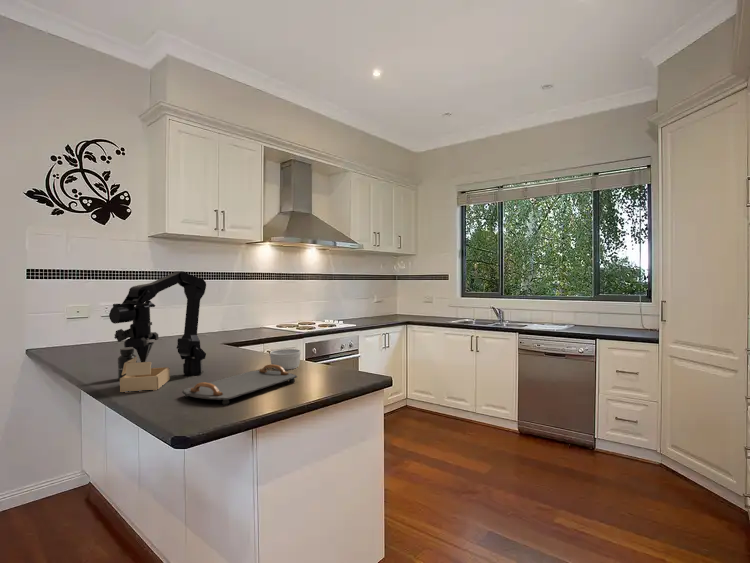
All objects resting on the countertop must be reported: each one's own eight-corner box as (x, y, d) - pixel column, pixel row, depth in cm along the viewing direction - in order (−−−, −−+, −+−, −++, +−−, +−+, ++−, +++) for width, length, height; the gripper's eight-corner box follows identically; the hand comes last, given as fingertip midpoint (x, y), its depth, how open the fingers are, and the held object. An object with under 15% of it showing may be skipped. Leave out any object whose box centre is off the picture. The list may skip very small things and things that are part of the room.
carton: (170, 379, 174) (170, 366, 174) (158, 390, 158) (157, 376, 158) (136, 381, 172) (135, 369, 172) (120, 392, 156) (119, 378, 156)
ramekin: (294, 371, 184) (293, 354, 184) (264, 370, 186) (264, 354, 186) (305, 364, 197) (305, 348, 197) (277, 364, 199) (277, 348, 199)
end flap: (150, 374, 158) (151, 361, 159) (150, 374, 157) (150, 361, 158) (126, 375, 156) (126, 363, 157) (125, 375, 156) (126, 363, 157)
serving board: (259, 375, 179) (258, 360, 178) (304, 381, 167) (303, 365, 167) (172, 400, 145) (172, 382, 145) (221, 410, 133) (220, 389, 133)
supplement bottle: (115, 381, 174) (114, 350, 174) (120, 377, 181) (119, 347, 180) (135, 379, 176) (134, 349, 176) (139, 375, 182) (138, 346, 182)
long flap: (134, 368, 169) (137, 357, 169) (122, 375, 158) (125, 363, 158) (133, 368, 169) (136, 356, 169) (121, 374, 157) (124, 362, 158)
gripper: (126, 318, 169) (128, 359, 170) (106, 324, 151) (108, 370, 151) (158, 317, 171) (159, 357, 172) (142, 322, 153) (144, 367, 153)
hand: (143, 363), depth 162 cm, fingers closed
